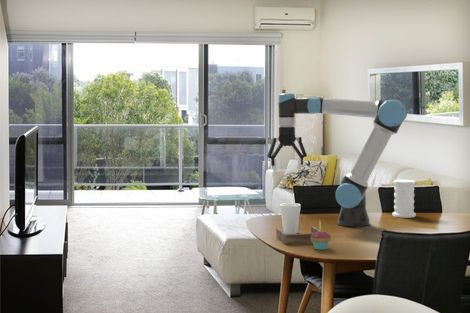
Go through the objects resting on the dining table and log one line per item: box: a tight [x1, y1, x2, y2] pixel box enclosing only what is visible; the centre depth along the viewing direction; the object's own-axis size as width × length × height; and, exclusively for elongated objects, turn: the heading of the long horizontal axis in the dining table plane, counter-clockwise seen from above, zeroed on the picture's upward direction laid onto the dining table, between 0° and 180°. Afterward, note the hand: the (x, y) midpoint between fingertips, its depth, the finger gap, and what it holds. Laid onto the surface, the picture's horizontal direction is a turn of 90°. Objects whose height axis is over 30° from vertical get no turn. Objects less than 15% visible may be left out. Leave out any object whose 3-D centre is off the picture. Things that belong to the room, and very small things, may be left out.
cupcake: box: [310, 220, 332, 251], centre depth 305 cm, size 9×8×12 cm
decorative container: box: [392, 179, 417, 219], centre depth 379 cm, size 12×12×18 cm
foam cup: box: [279, 202, 301, 235], centre depth 338 cm, size 10×9×13 cm
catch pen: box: [276, 226, 319, 245], centre depth 323 cm, size 16×17×4 cm
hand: (287, 172), depth 352 cm, fingers open, 11 cm apart
